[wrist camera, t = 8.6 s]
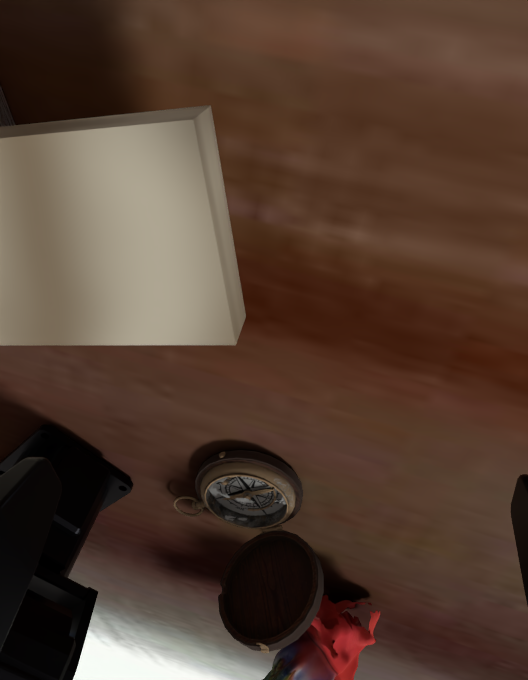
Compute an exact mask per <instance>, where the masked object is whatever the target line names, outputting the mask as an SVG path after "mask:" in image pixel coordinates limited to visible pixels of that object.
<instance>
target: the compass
mask: <svg viewBox="0 0 528 680" xmlns="http://www.w3.org/2000/svg"><path fill="white" fill-rule="evenodd" d="M195 490H196V493H197V495H198V498H199V500H197V499H195V498H193V497H189V496H180V497H178V498H176V499H175V500H174V507H175V509H176V510H177V511H178V512H179V513H181V514H183V515H186V516H198V515H200V514H201V513H202V512H203V511H204V507H206V508H207V509H208V510H210V511H211V512H212V513H213V514H214V515H216V516H217V517H218V518H219V519H221V520H223V521H225V522H227V523H229V524H232V525H234V526H237V527H242V528H248V529H262V528H263V529H262V532H263V533H262V534H260V535H258V536H256V537H254V538H253V539H251V540H250V541H248V542H246V543H245V544H244V545H243V546H242V547H241V548H240V549H239V550H238V551H237V552H236V553H235V555H234V556H233V558H232V559H231V561H230V562H229V564H228V565H227V567H226V570H225V572H224V575H223V577H222V580H221V583H220V585H221V586H222V594H220V595H219V596H218V600H219V612H220V616H221V618H222V621H223V624H224V626H225V628H226V629H227V630H228V632H229V633H230V634H231V635H232V636H233V638H234V639H236V640H237V641H238V642H240V643H241V644H243V645H245V646H247V647H248V648H250V649H252V650H257V651H261V652H262V653H268V652H269V651H273V650H278V649H282V648H284V647H286V646H288V645H289V644H291V643H292V642H294V641H296V640H297V639H298V638H299V637H300V636H301V635H302V634H303V633H304V632H305V631H306V630H307V629H308V628H309V627H310V625H311V623H312V622H313V620H314V618H315V616H316V614H317V612H318V611H319V608H320V604H321V600H322V596H323V592H324V575H323V571H322V567H321V564H320V560H319V559H318V557H317V556H316V554H315V553H314V551H313V549H312V548H311V547H310V546H309V545H308V543H307V542H305V541H304V540H303V539H301V538H300V537H299V536H298V535H296V534H293V533H290V532H287V531H284V530H282V525H280V526H278V524H282V523H285V522H286V521H288V520H290V519H291V518H293V517H294V516H295V515H296V514H297V512H298V511H299V510H300V507H301V503H302V497H303V490H302V485H301V481H300V480H299V478H298V477H297V475H296V474H295V472H294V471H293V470H291V469H290V468H289V467H288V466H287V465H286V464H284V463H283V462H281V461H279V460H277V459H275V458H273V457H271V456H270V455H266V454H263V453H259V452H256V451H247V450H234V451H226V452H221V453H219V454H216V455H214V456H211V457H210V458H209V459H208V460H206V461H205V462H204V463H203V464H202V466H201V467H200V469H199V471H198V474H197V477H196V482H195ZM180 499H191V500H193V502H192V507H193V509H194V510H197V509H201V511H200V512H199V513H196V514H189V513H185V512H183V511H181V510H180V509H178V507H177V506H176V502H177V501H178V500H180Z"/></svg>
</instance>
